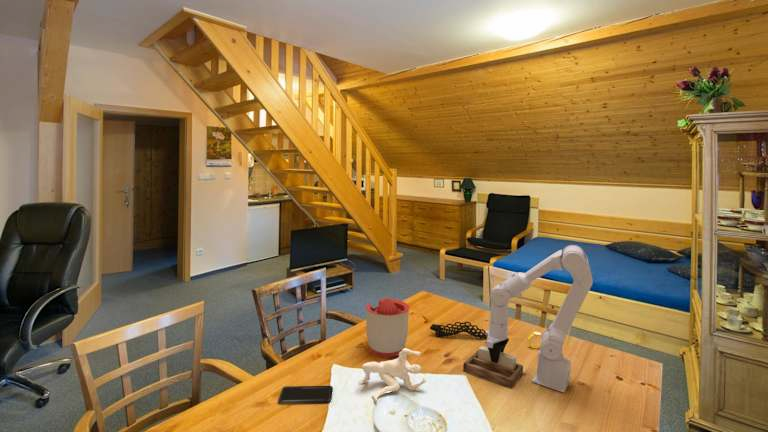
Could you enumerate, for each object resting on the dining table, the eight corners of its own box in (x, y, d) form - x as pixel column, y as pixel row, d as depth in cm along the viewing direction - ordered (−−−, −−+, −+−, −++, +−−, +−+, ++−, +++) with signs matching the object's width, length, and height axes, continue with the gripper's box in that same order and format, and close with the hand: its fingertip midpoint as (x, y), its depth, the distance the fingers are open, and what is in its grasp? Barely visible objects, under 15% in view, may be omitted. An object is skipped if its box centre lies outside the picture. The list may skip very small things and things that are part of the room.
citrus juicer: (383, 335, 156) (384, 286, 153) (417, 351, 143) (418, 298, 141) (353, 348, 145) (353, 296, 142) (386, 366, 132) (388, 309, 130)
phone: (331, 401, 112) (277, 401, 111) (331, 404, 112) (277, 405, 111) (333, 385, 120) (283, 386, 119) (333, 388, 120) (283, 389, 119)
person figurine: (365, 368, 111) (419, 345, 118) (350, 357, 122) (401, 337, 130) (376, 413, 111) (430, 387, 118) (360, 397, 123) (410, 375, 130)
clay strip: (515, 370, 129) (516, 356, 128) (512, 374, 127) (513, 359, 126) (480, 359, 136) (481, 345, 136) (477, 362, 134) (478, 348, 134)
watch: (542, 347, 149) (544, 332, 148) (544, 350, 146) (547, 335, 145) (526, 345, 149) (528, 330, 148) (528, 348, 146) (530, 333, 146)
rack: (522, 373, 130) (523, 365, 129) (511, 388, 121) (511, 380, 120) (477, 358, 139) (477, 350, 139) (463, 371, 130) (463, 363, 130)
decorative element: (485, 335, 158) (486, 321, 157) (488, 341, 153) (488, 326, 152) (429, 333, 160) (429, 319, 159) (429, 338, 155) (430, 324, 154)
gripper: (495, 311, 138) (492, 348, 140) (478, 325, 126) (475, 364, 128) (515, 317, 133) (512, 354, 135) (499, 331, 122) (496, 372, 124)
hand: (496, 360), depth 131 cm, fingers closed on clay strip, 2 cm apart
